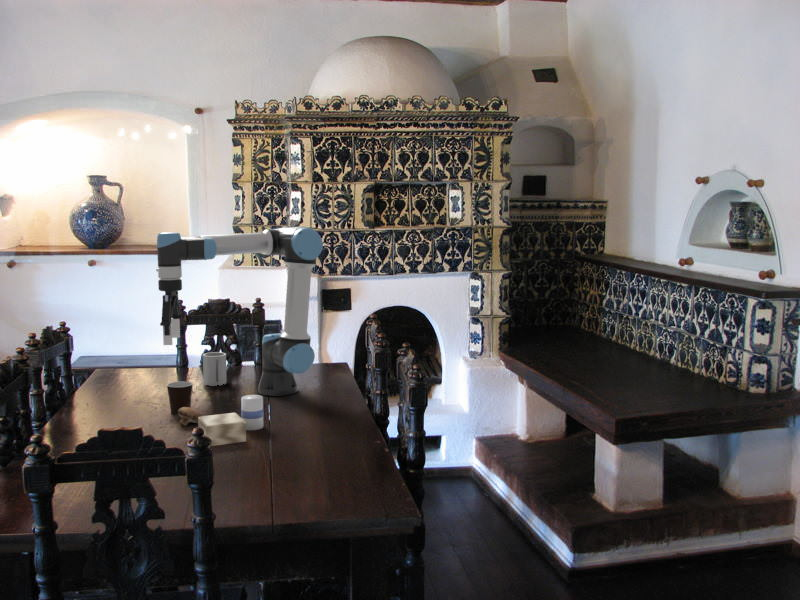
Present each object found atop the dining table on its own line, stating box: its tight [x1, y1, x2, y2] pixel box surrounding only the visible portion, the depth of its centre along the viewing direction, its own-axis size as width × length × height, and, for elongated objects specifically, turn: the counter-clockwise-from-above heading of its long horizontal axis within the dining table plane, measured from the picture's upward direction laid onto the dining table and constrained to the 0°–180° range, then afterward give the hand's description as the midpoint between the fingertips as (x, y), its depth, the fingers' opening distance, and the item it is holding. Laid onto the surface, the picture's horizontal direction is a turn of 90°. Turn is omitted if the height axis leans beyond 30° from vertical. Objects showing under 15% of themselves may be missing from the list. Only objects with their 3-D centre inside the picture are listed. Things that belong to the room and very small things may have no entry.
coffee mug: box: [166, 381, 194, 416], centre depth 265 cm, size 12×9×10 cm
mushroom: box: [178, 406, 201, 426], centre depth 249 cm, size 8×8×6 cm
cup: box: [202, 351, 228, 387], centre depth 306 cm, size 9×9×12 cm
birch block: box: [197, 412, 247, 447], centre depth 234 cm, size 12×12×6 cm
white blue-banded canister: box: [240, 394, 265, 431], centre depth 246 cm, size 7×7×10 cm
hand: (172, 341), depth 254 cm, fingers open, 13 cm apart
